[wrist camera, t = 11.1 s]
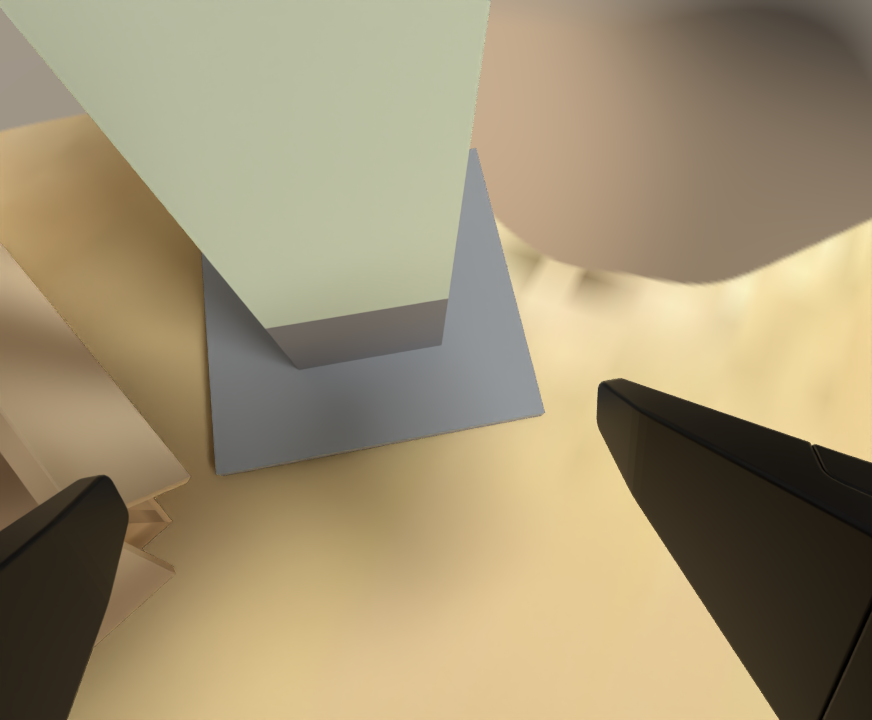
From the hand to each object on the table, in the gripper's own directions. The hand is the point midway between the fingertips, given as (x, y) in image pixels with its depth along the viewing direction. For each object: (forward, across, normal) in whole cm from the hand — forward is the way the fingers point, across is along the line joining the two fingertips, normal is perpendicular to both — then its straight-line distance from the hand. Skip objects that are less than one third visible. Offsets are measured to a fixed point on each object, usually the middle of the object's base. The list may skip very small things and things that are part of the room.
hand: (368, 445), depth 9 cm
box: (+10, 0, 0) cm, 10 cm away
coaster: (+10, 0, +1) cm, 10 cm away
